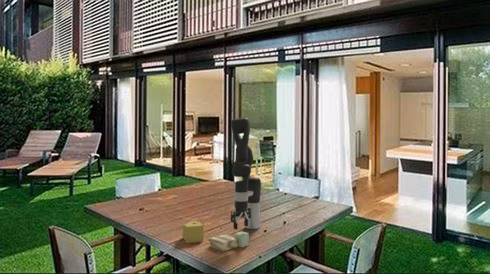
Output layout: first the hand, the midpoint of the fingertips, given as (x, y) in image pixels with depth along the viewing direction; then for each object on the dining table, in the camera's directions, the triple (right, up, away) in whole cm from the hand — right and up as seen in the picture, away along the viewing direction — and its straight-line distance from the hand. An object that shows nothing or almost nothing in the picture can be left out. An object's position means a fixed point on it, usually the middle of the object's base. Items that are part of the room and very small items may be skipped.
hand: (240, 227), depth 220 cm
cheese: (-28, -10, +9) cm, 32 cm away
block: (+1, -10, +1) cm, 10 cm away
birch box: (-10, -11, -1) cm, 14 cm away
